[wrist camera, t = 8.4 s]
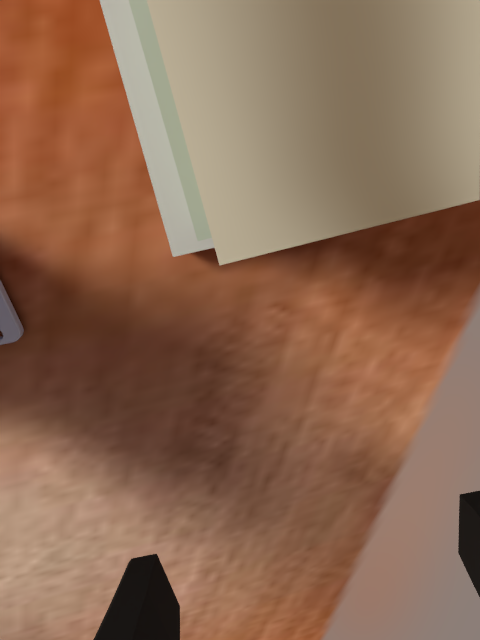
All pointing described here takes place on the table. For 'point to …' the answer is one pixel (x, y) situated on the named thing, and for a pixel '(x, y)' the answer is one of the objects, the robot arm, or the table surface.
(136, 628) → the robot arm
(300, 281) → the table surface
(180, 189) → the tower base
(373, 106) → the maple cube
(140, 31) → the tower top
